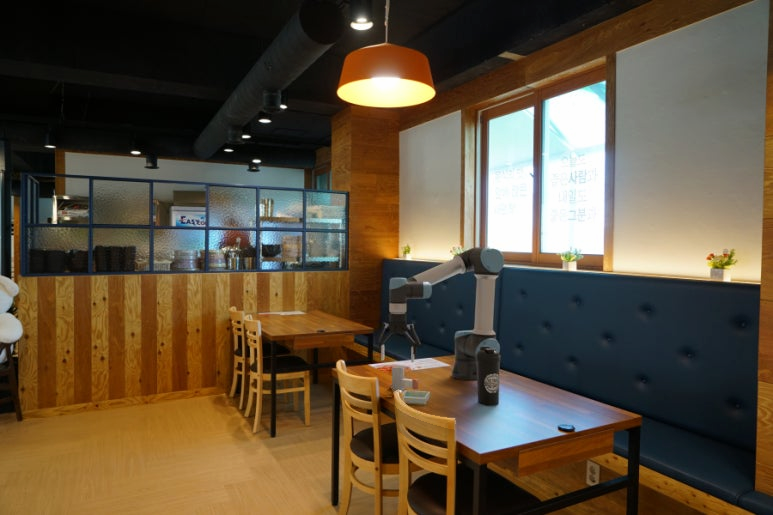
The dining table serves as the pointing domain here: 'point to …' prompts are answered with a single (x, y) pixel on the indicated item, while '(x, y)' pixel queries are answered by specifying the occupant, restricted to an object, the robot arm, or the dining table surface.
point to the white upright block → (398, 378)
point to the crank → (411, 383)
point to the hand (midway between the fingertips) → (397, 360)
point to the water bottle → (488, 376)
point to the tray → (416, 397)
